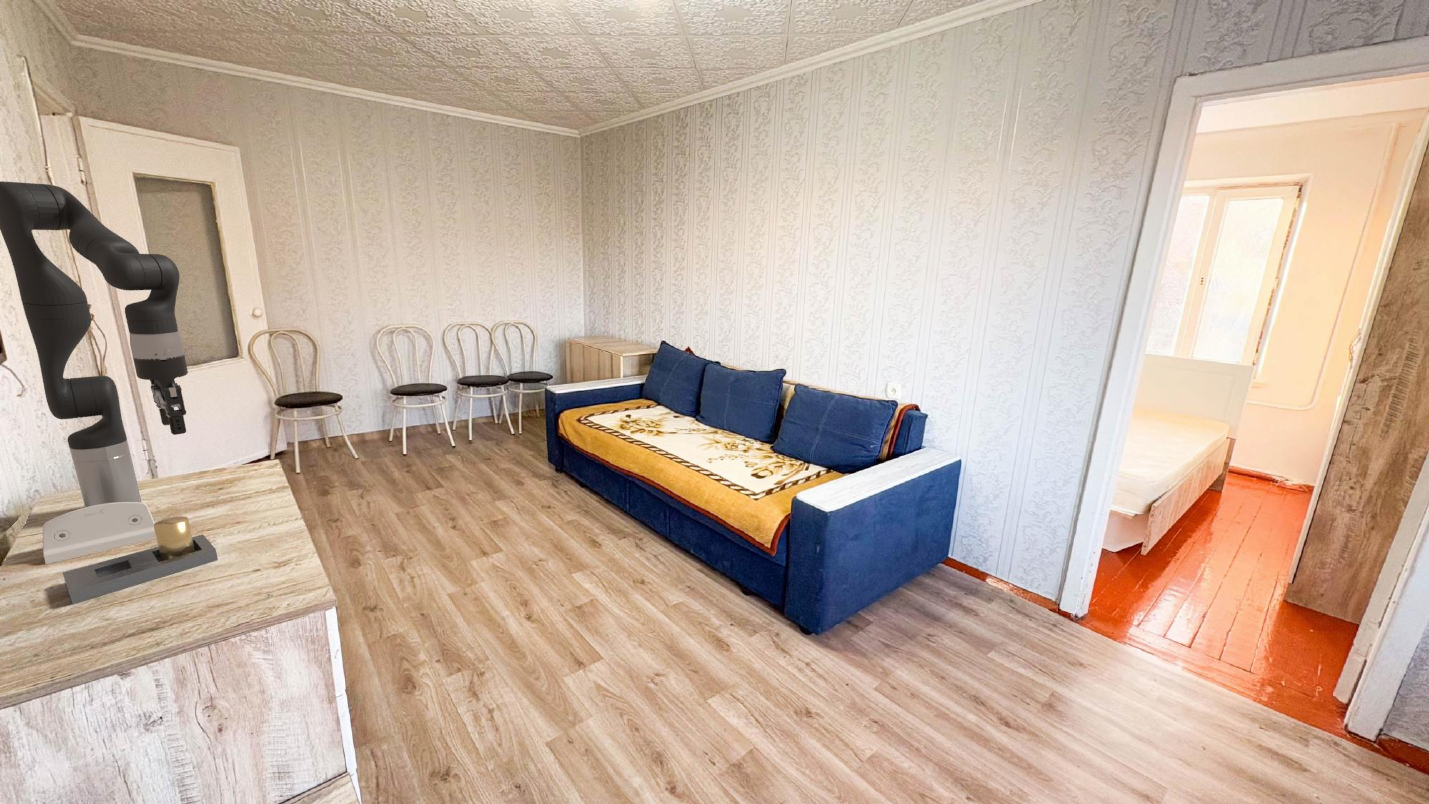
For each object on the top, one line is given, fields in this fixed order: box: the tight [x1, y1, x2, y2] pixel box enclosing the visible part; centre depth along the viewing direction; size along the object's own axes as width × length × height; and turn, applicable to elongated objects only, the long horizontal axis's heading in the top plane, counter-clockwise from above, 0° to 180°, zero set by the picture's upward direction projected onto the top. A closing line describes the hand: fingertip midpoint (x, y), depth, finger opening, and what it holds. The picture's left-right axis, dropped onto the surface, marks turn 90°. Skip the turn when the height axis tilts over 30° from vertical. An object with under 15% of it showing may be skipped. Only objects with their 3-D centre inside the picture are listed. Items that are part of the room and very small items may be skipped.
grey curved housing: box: [42, 502, 157, 565], centre depth 117 cm, size 17×5×10 cm, turn 137°
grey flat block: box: [62, 534, 219, 605], centre depth 109 cm, size 10×20×2 cm, turn 144°
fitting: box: [154, 515, 196, 562], centre depth 112 cm, size 5×5×9 cm
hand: (174, 428), depth 116 cm, fingers open, 8 cm apart
